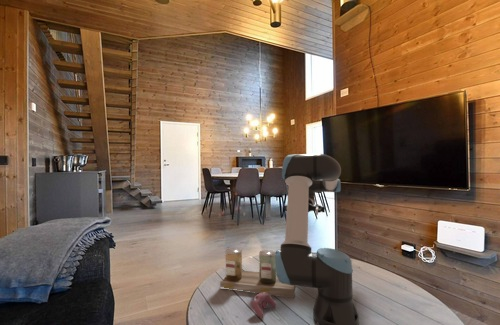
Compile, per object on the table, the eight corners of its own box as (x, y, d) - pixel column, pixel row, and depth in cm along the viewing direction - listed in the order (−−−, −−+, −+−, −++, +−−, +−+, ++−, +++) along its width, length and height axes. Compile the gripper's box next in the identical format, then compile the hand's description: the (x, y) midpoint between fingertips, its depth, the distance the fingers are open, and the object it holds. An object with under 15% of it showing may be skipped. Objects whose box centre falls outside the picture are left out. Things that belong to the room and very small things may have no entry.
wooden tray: (293, 297, 103) (293, 290, 103) (220, 289, 111) (219, 282, 111) (296, 280, 118) (296, 273, 118) (231, 274, 126) (231, 268, 126)
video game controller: (269, 308, 99) (262, 289, 101) (278, 306, 96) (270, 287, 98) (254, 320, 91) (246, 300, 93) (263, 319, 88) (255, 298, 90)
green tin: (260, 276, 117) (260, 249, 118) (277, 277, 116) (276, 250, 116) (257, 284, 109) (257, 255, 110) (274, 285, 108) (274, 256, 108)
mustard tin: (229, 272, 122) (229, 247, 122) (244, 274, 119) (243, 248, 119) (222, 280, 114) (222, 253, 114) (238, 282, 112) (237, 254, 112)
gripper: (330, 212, 136) (329, 220, 115) (284, 210, 143) (276, 218, 123) (329, 198, 136) (329, 204, 116) (283, 197, 144) (275, 203, 123)
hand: (301, 211), depth 119 cm, fingers open, 13 cm apart
